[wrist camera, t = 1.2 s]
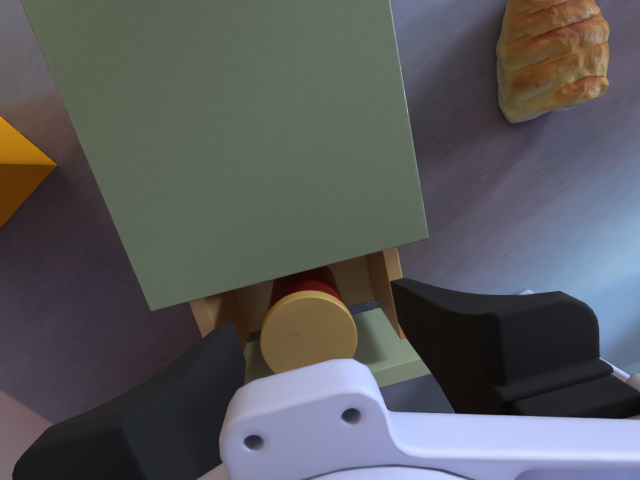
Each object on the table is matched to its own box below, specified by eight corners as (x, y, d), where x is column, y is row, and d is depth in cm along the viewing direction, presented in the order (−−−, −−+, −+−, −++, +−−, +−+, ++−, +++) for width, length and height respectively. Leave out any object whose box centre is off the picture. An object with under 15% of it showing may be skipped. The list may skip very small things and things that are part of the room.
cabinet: (380, 213, 23) (429, 238, 15) (203, 259, 23) (150, 312, 14) (339, 11, 20) (372, -107, 11) (132, 61, 19) (10, -22, 11)
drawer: (404, 359, 25) (444, 427, 18) (256, 399, 25) (243, 484, 18) (363, 157, 21) (394, 151, 14) (187, 202, 21) (137, 217, 14)
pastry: (475, -13, 20) (517, -54, 16) (571, -43, 20) (634, -91, 16) (497, 132, 22) (539, 124, 19) (584, 104, 22) (642, 90, 19)
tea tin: (348, 297, 22) (374, 356, 15) (292, 327, 22) (291, 400, 15) (317, 242, 21) (328, 278, 14) (258, 275, 21) (240, 327, 14)
